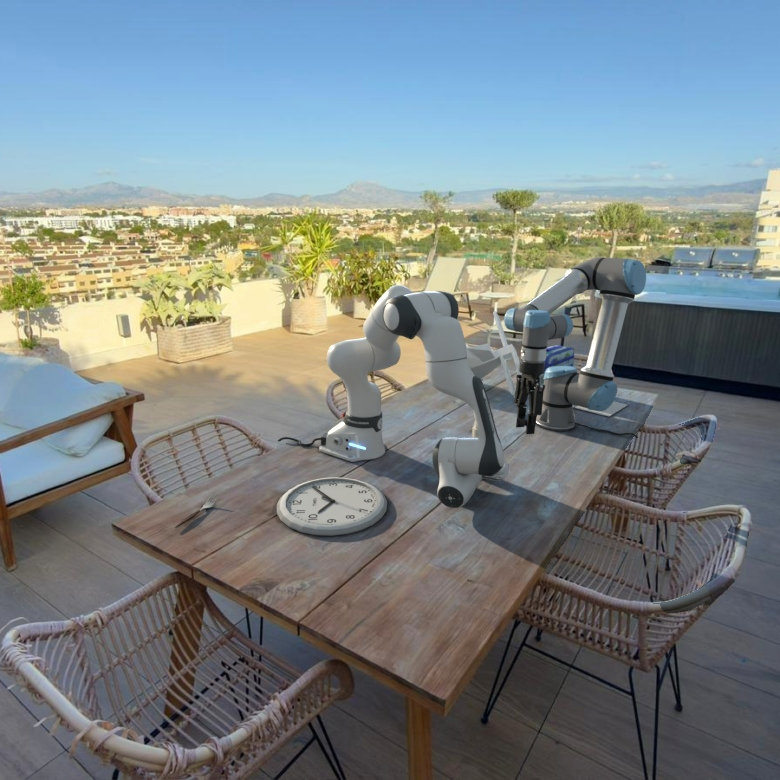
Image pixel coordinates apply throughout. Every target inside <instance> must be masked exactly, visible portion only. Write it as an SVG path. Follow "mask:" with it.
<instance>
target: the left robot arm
mask: <svg viewBox="0 0 780 780" xmlns="http://www.w3.org/2000/svg"><path fill="white" fill-rule="evenodd" d="M459 308H460V307H459V303H458V300H457V298H456V297H455V296H454V295H453V294H452V293H450V292H447V291H444V290H443V291H442V290H435V291H418V292H413V291H412V290H411V289H410V288H408V287H407V286H404V285H402V284H396V285H392V286H390V287H389V288H388V289H387V290H386V291H384V292H383V294H382V295H381V296H380V297H379V298H378V300H377V301H376V302H375V304H374V306H373V307H372V308H371V310H370V312H369V314H368V315H367V317H366V318H365V320H364V322H363V324H362V325H363V326H362V331H363V335H364V337H361V338H354V339H346V340H342V341H339V342H337V343H333V344H331V345H330V347H329V348H328V349H327V353H326V364H327V366H328V368H329V370H330V371H331V372H332V373H333V374H334V375H336V376H337V377H339V379H340V380H341V381H342V382H343V385H344V387H345V390H346V402H347V409H346V410H345V411H343V413H341V414H340V419H342V421H340V422H339V423H337V424H336V425H334V426H333V427H332V428H330V429H329V431H328V432H324V433H323V435H321V436H320V437H316V438H313V440H311V442H309V443H302V441H301V440H299V439H296V438H294V437H289V436H283V437H280V438H279V439H277V442H281V441H283V440H290V441H293V442H296V443H298V444H299V446H302V447H309V446H312V445H314V443H315V442H317V441H320V445H319V449H318V451H319V452H320V453H324V454H327V455H330V456H332V457H335V458H339V459H340V460H341V459H342V460H344V461H347V462H351V463H355V462H360V461H366V460H367V461H368V460H374V459H378V458H380V457H383V456H384V455H385V454H386V448H385V444H384V440H383V431H382V429H383V411H382V390H381V389H380V387H379V386H378V385H377V384H375V383H374V382H372V381H369V377H368V373H370V372H376V371H382V370H386V369H389V368H391V367H393V366H396V365H397V364H398V363H399V361H400V359H401V355H402V353H401V352H402V351H401V347H400V344H399V343H398V339H399V338H400V337H404V338H406V339H408V340H414V339H415V337H417V338H418V339H419V340H421V342H422V344H423V355H424V362H425V363H424V365H425V373H426V378H427V380H428V382H429V383H430V385H431V386H432V387H433V388H434V389H436V390H437V391H439V392H440V393H443V394H445V395H448V396H450V397H454V398H456V399H459V400H461V401H463V402H464V403H466V404H467V405H468V406H469V408H471V410H472V413H473V418H474V422H475V421H476V425H477V429H478V433H479V436H480V437H478V438H472V437H462V436H443V437H442V438H441V439H439V441H438V442H437V443H436V445H435V447H434V449H433V451H432V457H431V458H432V467H433V470H434V472H435V474H436V476H437V478H438V479H439V482H438V486H437V492H436V493H437V494H436V495H437V498H438V500H439V501H440V503H441V504H443V505H444V506H445V507H448V508H452V509H459V508H461V507H464V506H465V505H466V504H467V503H468V502H469V501H470V499H471V498H472V497H473V495H474V494H475V491H476V489H477V488H478V487H479V485H480V483H481V482H482V480H487V481H493V482H501V481H502V480H503V481H504V480H505V479H506V477H507V475H509V467H510V466H509V465H510V464H509V463H508V462H507V461H505V452H504V449H503V445H502V441H501V439H500V437H499V434H498V431H497V426H496V424H495V423H496V422H495V420H494V415H493V412H492V408H491V405H490V401H489V397H488V394H487V390H486V388H485V384H484V383H483V380H481V379H480V378H479V377H477V376H475V375H474V374H473V372H472V371H471V369H470V367H469V364H468V360H467V350H466V344H467V343H466V339H465V335H464V332H463V327H462V325H461V323H460V321H459V320H458V317H459V311H460V309H459ZM465 343H466V344H465Z"/></svg>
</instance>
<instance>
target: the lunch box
mask: <svg viewBox="0 0 780 780" xmlns="http://www.w3.org/2000/svg"><path fill="white" fill-rule="evenodd" d="M543 362H544V363H545V366H544V373H543V374H541V375H540V383H541V385H543V382H544V379H543V378H544V374H545V371H546V369H547V368H550V367H554V366H572V367H574V363H575V348H573V347H571V346H570V347H568V346H563V345H551V346H547V349H546V359H545V361H543ZM532 391H535V390H532Z"/></svg>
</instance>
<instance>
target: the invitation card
mask: <svg viewBox="0 0 780 780" xmlns="http://www.w3.org/2000/svg"><path fill="white" fill-rule="evenodd" d="M628 406H629V404H627V403H623V402H618V401H615V400H614V401H613V403H612V404H611V405H610V406H609V407H608V408H607V409H606V410H604V411H595V410H589V409H588V408H584V407H581V406H577V405H575V406H574V407H573V409H575V410H581V411H584V412H587V413H593V414H596V415H600V416H604V417H608V418H609V417H611V416H613V415H614V414H616V413H617V412H619V411H621V410H623V409H624V408H626V407H628Z"/></svg>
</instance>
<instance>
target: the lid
mask: <svg viewBox="0 0 780 780" xmlns="http://www.w3.org/2000/svg"><path fill="white" fill-rule="evenodd" d="M527 416H528V415H527V413H526V414H521V415H518V416H517V415H516V421H517V423H518V424H520V425H523V426H524V427H526V425H527Z"/></svg>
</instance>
